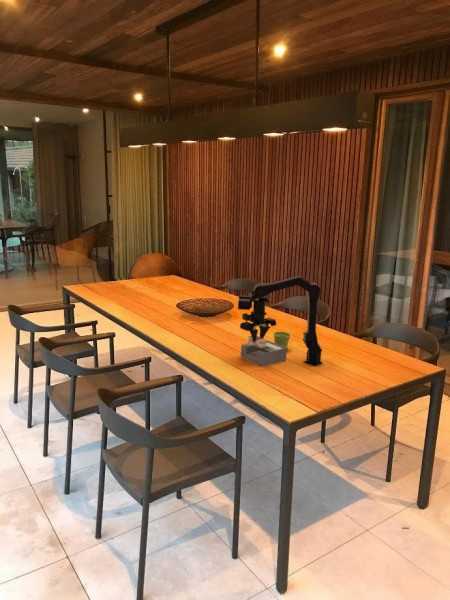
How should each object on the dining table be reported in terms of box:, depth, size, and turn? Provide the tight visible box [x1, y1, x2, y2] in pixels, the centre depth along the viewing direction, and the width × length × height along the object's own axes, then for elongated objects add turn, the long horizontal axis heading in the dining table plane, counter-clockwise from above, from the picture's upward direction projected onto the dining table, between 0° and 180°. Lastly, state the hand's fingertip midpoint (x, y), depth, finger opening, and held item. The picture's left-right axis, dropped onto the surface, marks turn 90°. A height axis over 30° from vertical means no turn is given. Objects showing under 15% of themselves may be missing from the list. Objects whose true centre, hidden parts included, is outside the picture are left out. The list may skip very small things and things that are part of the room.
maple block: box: [247, 335, 268, 348], centre depth 234 cm, size 9×4×4 cm, turn 37°
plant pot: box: [272, 331, 292, 349], centre depth 253 cm, size 9×9×9 cm
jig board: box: [240, 339, 288, 368], centre depth 239 cm, size 16×16×6 cm
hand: (257, 341), depth 234 cm, fingers closed on maple block, 4 cm apart
